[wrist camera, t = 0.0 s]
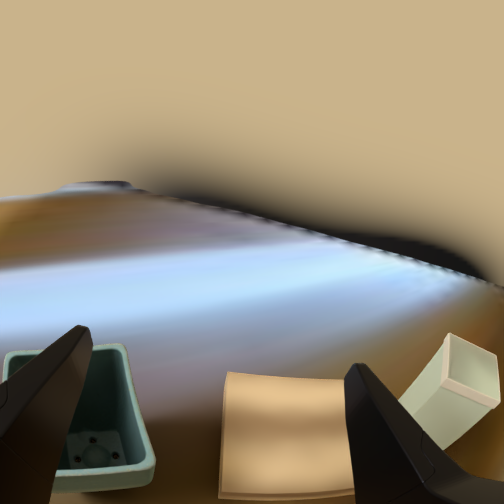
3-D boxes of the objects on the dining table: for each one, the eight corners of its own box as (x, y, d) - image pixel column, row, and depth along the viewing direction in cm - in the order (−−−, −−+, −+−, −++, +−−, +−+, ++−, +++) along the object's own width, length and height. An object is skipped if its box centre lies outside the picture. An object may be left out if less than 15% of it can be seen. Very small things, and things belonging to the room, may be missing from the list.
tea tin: (411, 474, 20) (500, 402, 14) (367, 456, 22) (446, 378, 16) (422, 433, 24) (496, 355, 18) (382, 416, 26) (448, 332, 20)
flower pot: (137, 407, 23) (125, 340, 18) (167, 499, 16) (158, 466, 12) (44, 416, 19) (4, 350, 14) (58, 510, 12) (1, 475, 8)
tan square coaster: (351, 495, 19) (368, 485, 17) (217, 499, 18) (221, 491, 16) (333, 396, 28) (345, 379, 27) (223, 389, 27) (227, 371, 25)
